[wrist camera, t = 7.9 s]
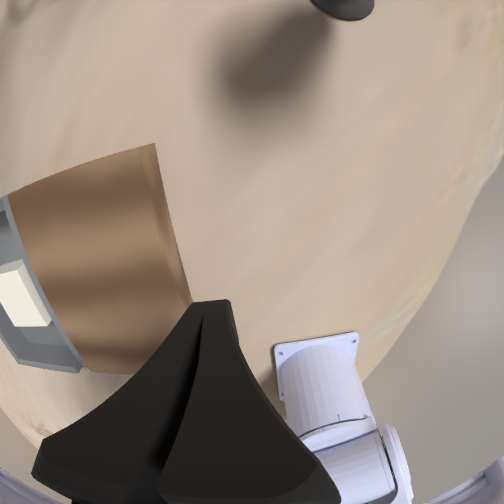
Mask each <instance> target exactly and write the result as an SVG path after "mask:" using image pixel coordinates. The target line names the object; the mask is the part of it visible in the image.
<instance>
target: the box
mask: <svg viewBox="0 0 504 504" xmlns="http://www.w3.org/2000/svg"><path fill="white" fill-rule="evenodd" d="M18 190H19V189H18ZM16 191H17V190H16ZM14 192H15V191H14ZM12 193H13V192H12ZM10 194H11V193H10ZM8 195H9V194H8ZM20 259H22V260H23V262H24V264H25V267H26V269H27V271H28V273H29V276H30V278H31V280H32V282H33V284H34V286H35V289H36V291H37V293H38V295H39V297H40V299H41V300H42V302H43V304H44V306H45V308H46V310H47V312H48V314H49V315H50V317H51V319H52V320H51V322H50V323H49V325H48V326H32V327H15V326H14V324H13V323H12V321H11V320H10V318H9V316H8V315H7V313H6V311H5V309H4V308H3V306H2V304H1V302H0V338H1V340H2V341H3V343H4V344H5V346H6V347H7V349H8V350H9V351H10V353H11V354H12V356H13V357H14V358H15V360H16V361H17V363H18V364H22V365H27V366H32V367H37V368H43V369H49V370H55V371H62V372H69V373H77V374H78V373H79V371H80V369H81V367H88V366H87V365H86V364H85V362H84V361H83V359H82V358H81V356H80V355H79V353H78V352H77V350H76V349H75V347H74V345H73V344H72V342H71V341H70V339H69V337H68V336H67V334H66V332H65V331H64V329H63V327H62V326H61V324H60V322H59V320H58V319H57V317H56V315H55V313H54V311H53V309H52V308H51V306H50V304H49V302H48V300H47V298H46V296H45V294H44V292H43V290H42V288H41V286H40V284H39V281H38V279H37V277H36V275H35V273H34V270H33V268H32V266H31V263H30V261H29V259H28V256H27V254H26V251H25V248H24V246H23V243H22V241H21V238H20V235H19V232H18V229H17V226H16V223H15V220H14V217H13V214H12V211H11V207H10V204H9V200H8V197H7V195H6V196H4V197H2V198H0V266H1V265H3V264H7V263H10V262H13V261H17V260H20Z"/></svg>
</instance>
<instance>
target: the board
mask: <svg viewBox="0 0 504 504" xmlns="http://www.w3.org/2000/svg"><path fill="white" fill-rule="evenodd" d="M7 197H8V200H9V204H10V207H11V211H12V214H13V217H14V220H15V223H16V226H17V229H18V232H19V235H20V238H21V241H22V243H23V246H24V248H25V251H26V254H27V256H28V259H29V261H30V263H31V266H32V268H33V270H34V273H35V275H36V277H37V279H38V281H39V284H40V286H41V288H42V290H43V292H44V294H45V296H46V298H47V300H48V302H49V304H50V306H51V308H52V309H53V311H54V313H55V315H56V317H57V319H58V320H59V322H60V324H61V326H62V327H63V329H64V331H65V332H66V334H67V336H68V337H69V339H70V341H71V342H72V344H73V345H74V347H75V349H76V350H77V352H78V353H79V355H80V356H81V358H82V359H83V361H84V362H85V364H86V365H87V366H88V368H89V369H90V371H94V372H106V373H122V374H136V373H137V372H138V370H139V369H140V368H141V367H142V366H143V365H144V364H145V363H146V362H147V360H148V359H149V358H150V357H151V356H152V355H153V353H154V352H155V351H156V350H157V349H158V347H159V346H160V345H161V344H162V342H163V341H164V340H165V338H166V337H167V336H168V334H169V333H170V332H171V330H172V329H173V328H174V326H175V325H176V324H177V322H178V321H179V319H180V318H181V317H182V315H183V314H184V312H185V311H186V310H187V308H188V307H189V306H190V304H191V303H193V300H192V297H191V294H190V290H189V287H188V283H187V280H186V276H185V273H184V269H183V266H182V262H181V258H180V254H179V251H178V247H177V243H176V239H175V235H174V231H173V227H172V223H171V219H170V215H169V210H168V206H167V202H166V197H165V193H164V188H163V183H162V179H161V174H160V169H159V164H158V159H157V154H156V148H155V143H153V144H149V145H145V146H141V147H138V148H134V149H130V150H126V151H123V152H119V153H116V154H112V155H109V156H106V157H103V158H99V159H96V160H93V161H90V162H87V163H84V164H81V165H78V166H75V167H73V168H70V169H67V170H64V171H62V172H59V173H56V174H54V175H51V176H49V177H46V178H44V179H41V180H39V181H37V182H34V183H32V184H30V185H27V186H25V187H23V188H21V189H19V190H17V191H15V192H13V193H11V194H9V195H7Z"/></svg>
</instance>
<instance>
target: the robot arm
mask: <svg viewBox="0 0 504 504" xmlns="http://www.w3.org/2000/svg"><path fill="white" fill-rule="evenodd" d="M358 341H359V334H358V333H357V332H350V333H345V334H340V335H334V336H329V337H323V338H317V339H310V340H304V341H297V342H290V343H283V344H277V345H275V347H274V353H275V362H276V371H277V381H278V390H279V399H280V400H281V401H285V409H286V417H287V424H286V423H285V421H284V420H283V419H282V417H281V416H280V415H279V413H278V412H277V411H276V409H275V408H274V406H273V405H272V404H271V402H270V401H269V400H268V398H267V397H266V395H265V394H264V392H263V390H262V389H261V387H260V386H259V384H258V382H257V380H256V379H255V377H254V375H253V373H252V372H251V370H250V368H249V366H248V364H247V362H246V360H245V358H244V355H243V353H242V351H241V349H240V346H239V339H238V334H237V330H236V325H235V321H234V316H233V312H232V307H231V302H230V301H229V300H227V299H224V300H214V301H204V302H194V303H191V304H190V306H189V307H188V308H187V310H186V311H185V312H184V314H183V315H182V317H181V318H180V319H179V321H178V322H177V324H176V325H175V326H174V328H173V329H172V330H171V332H170V333H169V334H168V336H167V337H166V338H165V340H164V341H163V342H162V344H161V345H160V346H159V347H158V349H157V350H156V351H155V352H154V353H153V355H152V356H151V357H150V358H149V359H148V360H147V362H146V363H145V364H144V365H143V366H142V367H141V368H140V369H139V370H138V372H137V373H136V374H135V375H134V376H133V377H132V378H131V379H129V380H128V381H127V382H126V383H125V384H124V385H123V386H122V387H121V388H120V389H119V390H118V391H116V392H115V393H114V394H113V395H112V396H110V397H109V398H108V399H107V400H105V401H104V402H103V403H102V404H101V405H99V406H98V407H97V408H95V409H94V410H92V411H91V412H90V413H88V414H87V415H85V416H84V417H82V418H81V419H79V420H78V421H76V422H74V423H73V424H71V425H69V426H68V427H66V428H64V429H62V430H60V431H58V432H56V433H55V434H53V435H51V436H49V437H47V438H45V439H43V440H42V443H41V446H40V448H39V451H38V454H37V457H36V460H35V463H34V466H33V469H32V472H31V474H32V476H33V478H35V479H36V480H37V481H39V482H40V483H42V484H44V485H45V486H47V487H49V488H50V489H52V490H54V491H56V492H58V493H60V494H61V495H63V496H65V497H67V498H69V499H71V500H72V504H412V502H411V499H413V497H414V496H413V491H412V488H411V484H410V481H411V477H410V472H409V469H408V465H407V462H406V458H405V456H404V452H403V449H402V446H401V443H400V441H399V438H398V435H397V433H396V430H395V428H394V426H391V425H387V423H383V424H381V425H379V426H380V430H381V433H382V438H381V435H380V432H379V429H378V427H377V424H376V421H375V419H374V417H373V415H372V412H371V409H370V407H369V404H368V401H367V398H366V395H365V392H364V389H363V386H362V384H361V381H360V378H359V375H358V373H357V370H356V367H355V365H354V362H355V357H356V352H357V346H358ZM279 352H281V353H279ZM382 439H383V441H382ZM383 442H384V444H383ZM384 445H385V448H384ZM392 471H393V473H392ZM393 474H394V477H393ZM0 504H62V503H60V502H58V501H56V500H54V499H52V498H50V497H48V496H46V495H44V494H42V493H40V492H38V491H37V490H35V489H33V488H31V487H29V486H28V485H26V484H24V483H23V482H21V481H19V480H18V479H16V478H15V477H13V476H12V475H10V474H9V473H7V472H6V471H4V470H3V469H1V468H0ZM423 504H504V454H503V455H502V456H500V457H499V458H498V459H496V460H495V461H494V462H492V463H491V464H490V465H488V466H487V467H486V468H485V469H484V470H482V471H480V472H479V473H477V474H476V475H474V476H473V477H471V478H469V479H468V480H466V481H465V482H463V483H462V484H460V485H458V486H456V487H455V488H453V489H451V490H449V491H447V492H445V493H443V494H442V495H440V496H438V497H436V498H434V499H431V500H429V501H427V502H425V503H423Z"/></svg>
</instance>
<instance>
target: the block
mask: <svg viewBox="0 0 504 504" xmlns="http://www.w3.org/2000/svg"><path fill="white" fill-rule="evenodd" d="M0 302H1V304H2V306H3V308H4V309H5V311H6V313H7V315H8V316H9V318H10V320H11V321H12V323H13V324H14V326H15V327H32V326H48V325H49V323H50V322H51V320H52V319H51V317H50V315H49V314H48V312H47V310H46V308H45V306H44V304H43V302H42V300H41V299H40V297H39V295H38V293H37V291H36V289H35V286H34V284H33V282H32V280H31V278H30V276H29V273H28V271H27V269H26V267H25V264H24V262H23V260H22V259H20V260H17V261H13V262H10V263H7V264H3V265H1V266H0Z"/></svg>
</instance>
